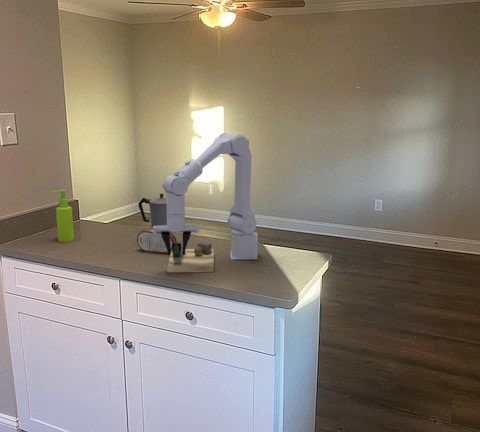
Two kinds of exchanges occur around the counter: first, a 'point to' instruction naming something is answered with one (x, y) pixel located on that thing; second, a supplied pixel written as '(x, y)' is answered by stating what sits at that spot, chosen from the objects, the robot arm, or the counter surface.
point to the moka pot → (155, 210)
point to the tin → (153, 241)
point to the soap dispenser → (64, 219)
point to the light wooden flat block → (194, 260)
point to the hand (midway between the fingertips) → (176, 253)
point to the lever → (177, 251)
